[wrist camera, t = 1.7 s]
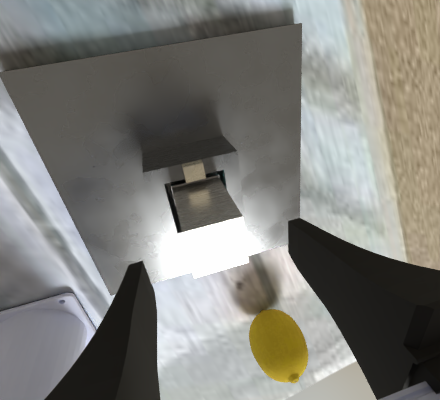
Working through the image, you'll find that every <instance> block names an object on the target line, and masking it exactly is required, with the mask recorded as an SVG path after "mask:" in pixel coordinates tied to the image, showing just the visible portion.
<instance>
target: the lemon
mask: <svg viewBox="0 0 440 400" xmlns="http://www.w3.org/2000/svg"><path fill="white" fill-rule="evenodd" d="M249 339H250V346H251V350H252V353H253V355H254V357H255V359H256V361H257V362H258V364H259V366H260V367H261V368H262V370H263V371H264V372H265V373H266V374H267V375H268V376H269V377H270V378H272V379H274V380H276V381H279V382H291V383H296V382H298V380H299V377H300V376H301V375H302V374H303V372H304V370H305V369H306V366H307V362H308V350H307V345H306V342H305V339H304V336H303V334H302V332H301V330H300V328H299V327H298V325H297V324H296V322H295V321H294V320H293V319H292V318H291V317H290V316H289V315H288V314H286V313H284V312H282V311H280V310H275V309H270V310H262V311H261V312H260V313H259V314H258V315H257V316H256V317H255V318H254V320H253V322H252V324H251V327H250V331H249Z"/></svg>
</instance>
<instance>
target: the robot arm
mask: <svg viewBox="0 0 440 400" xmlns="http://www.w3.org/2000/svg"><path fill="white" fill-rule="evenodd" d="M288 251H289V254H290V256H291V258H292V260H293V262H294V263H295V265H296V267H297V269H298V270H299V272H300V273H301V274H302V276H303V277H304V278H305V280H306V281H307V283H308V284H309V285H310V287H311V288H312V289H313V291H314V292H315V293H316V295H317V296H318V297H319V299H320V300H321V301H322V303H323V304H324V305H325V307H326V308H327V310H328V311H329V313H330V314H331V316H332V318H333V319H334V321H335V323H336V324H337V326H338V328H339V329H340V331H341V333H342V335H343V336H344V338H345V340H346V342H347V344H348V345H349V347H350V349H351V351H352V352H353V354H354V356H355V358H356V360H357V362H358V364H359V365H360V367H361V369H362V371H363V373H364V375H365V377H366V379H367V381H368V383H369V385H370V387H371V389H372V391H373V393H374V395H375V397H376V399H377V400H440V270H435V269H430V268H426V267H421V266H417V265H413V264H409V263H405V262H401V261H398V260H394V259H391V258H388V257H385V256H382V255H379V254H376V253H373V252H370V251H368V250H365V249H363V248H360V247H358V246H355V245H353V244H351V243H348V242H346V241H344V240H342V239H340V238H338V237H336V236H334V235H332V234H330V233H328V232H326V231H324V230H322V229H320V228H318V227H316V226H314V225H312V224H310V223H309V222H307V221H305V220H303V219H301V218H297V219H294V220H290V221H288ZM0 400H160V392H159V382H158V372H157V309H156V300H155V293H154V289H153V287H152V284H151V281H150V279H149V276H148V273H147V271H146V268H145V266H144V263H143V261H140V262H137V263H133V264H129V266H128V267H127V270H126V272H125V275H124V277H123V280H122V282H121V284H120V287H119V289H118V291H117V293H116V295H115V297H114V299H113V302H112V304H111V306H110V307H109V309H108V311H107V313H106V315H105V317H104V319H103V320H102V322H101V324H100V326H99V327H98V329H97V331H96V330H95V328H94V326H93V325H92V323H91V321H90V320H89V318H88V316H87V315H86V313H85V311H84V310H83V308H82V306H81V305H80V303H79V301H78V300H77V298H76V297H75V295H74V294H73V293H65V294H61V295H58V296H54V297H50V298H47V299H43V300H40V301H36V302H33V303H29V304H25V305H22V306H18V307H15V308H11V309H8V310H4V311H0Z"/></svg>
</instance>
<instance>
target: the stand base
mask: <svg viewBox="0 0 440 400" xmlns="http://www.w3.org/2000/svg"><path fill="white" fill-rule="evenodd" d="M301 57H302V23H299V24H292V25H286V26H280V27H274V28H268V29H262V30H255V31H249V32H243V33H237V34H231V35H225V36H219V37H212V38H206V39H200V40H194V41H188V42H182V43H176V44H169V45H163V46H157V47H151V48H145V49H139V50H133V51H127V52H120V53H114V54H108V55H102V56H96V57H90V58H84V59H77V60H71V61H65V62H59V63H53V64H47V65H41V66H34V67H28V68H22V69H16V70H10V71H4V72H0V77H1V79H2V81H3V83H4V85H5V87H6V89H7V91H8V93H9V95H10V97H11V99H12V101H13V103H14V105H15V107H16V109H17V111H18V113H19V115H20V117H21V119H22V121H23V123H24V125H25V127H26V129H27V131H28V133H29V135H30V137H31V139H32V141H33V143H34V145H35V147H36V149H37V151H38V153H39V155H40V157H41V159H42V160H43V162H44V164H45V166H46V168H47V170H48V172H49V174H50V176H51V178H52V180H53V182H54V184H55V186H56V188H57V190H58V192H59V194H60V196H61V198H62V200H63V202H64V204H65V206H66V208H67V210H68V212H69V214H70V216H71V218H72V220H73V222H74V224H75V226H76V228H77V230H78V232H79V234H80V236H81V238H82V240H83V242H84V244H85V246H86V248H87V249H88V251H89V253H90V255H91V257H92V259H93V261H94V263H95V265H96V267H97V269H98V271H99V273H100V275H101V277H102V279H103V281H104V283H105V285H106V287H107V289H108V291H109V293H110V295H114V294H116V293H117V291H118V289H119V287H120V284H121V282H122V280H123V277H124V275H125V272H126V270H127V267H128V266H129V264H133V263H137V262H140V261H143V263H144V266H145V268H146V271H147V273H148V276H149V279H150V281H151V284H153V283H156V282H160V281H163V280H166V279H170V278H173V277H177V276H180V275H184V274H187V273H191V272H192V268H191V265H190V261H189V257H188V253H187V249H186V246H185V242H184V238H183V234H182V230H181V226H180V221H179V217H178V213H177V210H176V206H175V202H174V198H173V194H172V190H171V187H170V182H174V181H178V180H183V179H185V181H186V183H189V182H193V181H197V180H201V179H205V178H206V176H205V174H208V173H212V172H216V173H217V174H219V178H220V180H221V181H222V183H223V185H224V186H225V188H226V189H227V191H228V193H229V194H230V196H231V198H232V199H233V201H234V202H235V204H236V206H237V207H238V209H239V211H240V212H241V214H242V216H243V220H244V228H245V237H246V246H247V254H248V256H250V255H253V254H257V253H260V252H264V251H267V250H270V249H274V248H277V247H281V246H284V245H288V221H290V220H294V219H297V218H300V141H301Z"/></svg>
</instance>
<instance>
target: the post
mask: <svg viewBox="0 0 440 400" xmlns="http://www.w3.org/2000/svg"><path fill="white" fill-rule="evenodd" d="M205 176H206V178H205V179H201V180H197V181H193V182H189V183H186V181H185V179H183V180H178V181H174V182H170V187H171V190H172V194H173V198H174V202H175V206H176V210H177V213H178V217H179V221H180V226H181V230H182V234H183V238H184V242H185V246H186V249H187V253H188V257H189V261H190V265H191V268H192V272H193V276H194V278H196V277H200V276H203V275H207V274H210V273H214V272H217V271H220V270H224V269H227V268H231V267H234V266H238V265H241V264H244V263H248V254H247V246H246V237H245V228H244V220H243V216H242V214H241V212H240V211H239V209H238V207H237V206H236V204H235V202H234V201H233V199H232V198H231V196H230V194H229V193H228V191H227V189H226V188H225V186H224V185H223V183H222V181H221V180H220V178H219V174H217V173H216V172H212V173H208V174H205Z"/></svg>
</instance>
